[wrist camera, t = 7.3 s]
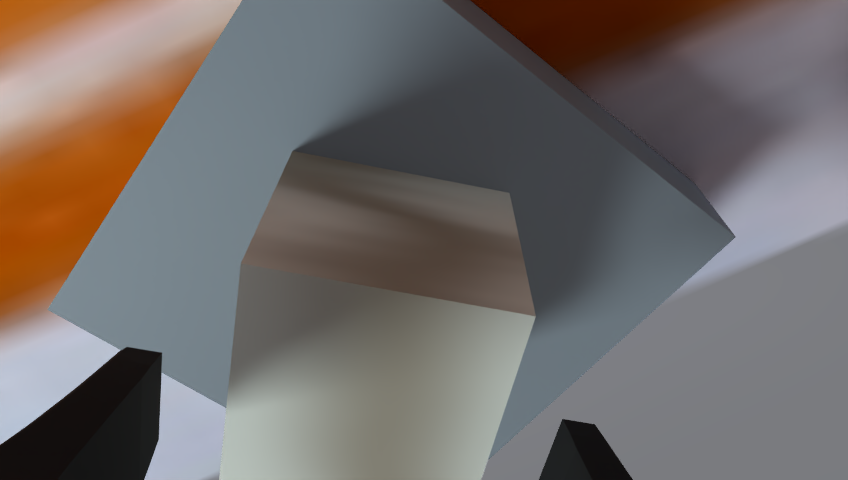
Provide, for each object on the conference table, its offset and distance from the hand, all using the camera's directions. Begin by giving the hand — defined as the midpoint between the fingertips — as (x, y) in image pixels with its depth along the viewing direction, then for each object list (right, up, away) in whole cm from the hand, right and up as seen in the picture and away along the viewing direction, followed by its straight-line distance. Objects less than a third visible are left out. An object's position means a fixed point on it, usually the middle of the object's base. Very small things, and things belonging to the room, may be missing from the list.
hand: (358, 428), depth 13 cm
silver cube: (0, +3, +5) cm, 5 cm away
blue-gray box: (0, +4, +7) cm, 8 cm away
